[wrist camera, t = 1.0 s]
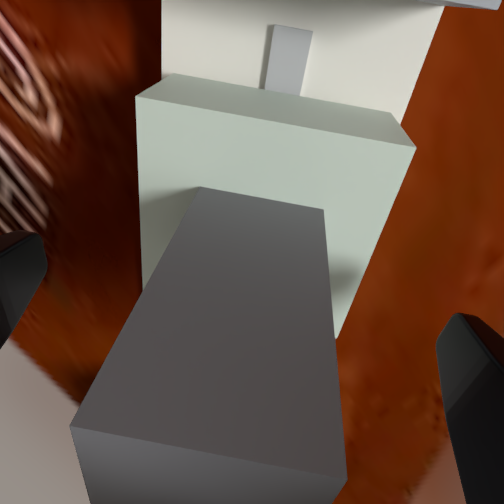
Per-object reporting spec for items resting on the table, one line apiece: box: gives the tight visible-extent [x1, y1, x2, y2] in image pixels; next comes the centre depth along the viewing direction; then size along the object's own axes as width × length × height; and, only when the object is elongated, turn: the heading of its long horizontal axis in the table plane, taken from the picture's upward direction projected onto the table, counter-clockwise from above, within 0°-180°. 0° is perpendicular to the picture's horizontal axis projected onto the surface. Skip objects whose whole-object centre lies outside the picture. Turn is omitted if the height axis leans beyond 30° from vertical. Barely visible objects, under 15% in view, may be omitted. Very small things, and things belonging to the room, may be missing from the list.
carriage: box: [70, 73, 416, 504], centre depth 8 cm, size 6×6×9 cm
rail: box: [162, 0, 502, 124], centre depth 14 cm, size 26×7×7 cm, turn 172°
